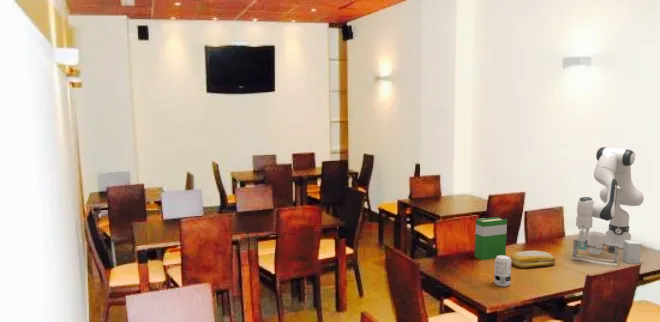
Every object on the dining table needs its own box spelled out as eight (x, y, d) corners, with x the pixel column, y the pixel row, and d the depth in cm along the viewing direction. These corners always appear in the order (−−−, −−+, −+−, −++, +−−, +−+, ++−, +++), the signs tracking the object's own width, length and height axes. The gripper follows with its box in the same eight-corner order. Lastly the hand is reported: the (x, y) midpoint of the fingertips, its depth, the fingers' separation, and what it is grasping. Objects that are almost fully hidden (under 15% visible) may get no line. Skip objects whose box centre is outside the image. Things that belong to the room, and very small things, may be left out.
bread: (506, 263, 305) (506, 251, 304) (542, 259, 313) (542, 246, 312) (521, 271, 292) (521, 257, 291) (558, 266, 300) (558, 253, 299)
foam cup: (585, 253, 323) (586, 233, 322) (587, 250, 331) (588, 230, 329) (602, 256, 318) (603, 236, 316) (603, 252, 326) (605, 232, 324)
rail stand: (573, 256, 318) (574, 237, 317) (617, 262, 306) (618, 243, 304) (571, 260, 310) (573, 241, 308) (616, 267, 297) (618, 247, 296)
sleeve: (578, 247, 314) (578, 239, 313) (587, 248, 311) (587, 240, 310) (577, 249, 310) (578, 240, 309) (586, 250, 307) (587, 242, 307)
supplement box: (639, 264, 303) (641, 243, 302) (626, 263, 305) (627, 243, 303) (635, 260, 310) (636, 240, 309) (621, 259, 312) (623, 239, 310)
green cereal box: (497, 253, 324) (499, 217, 321) (505, 256, 317) (507, 219, 314) (474, 256, 318) (476, 219, 315) (482, 260, 311) (483, 222, 308)
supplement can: (491, 281, 275) (492, 255, 273) (506, 281, 276) (507, 254, 274) (497, 287, 267) (499, 259, 265) (512, 286, 268) (514, 259, 266)
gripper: (588, 228, 298) (587, 251, 300) (591, 220, 315) (589, 242, 317) (576, 226, 301) (575, 249, 303) (579, 219, 319) (578, 240, 320)
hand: (582, 245), depth 310 cm, fingers closed on sleeve, 4 cm apart
